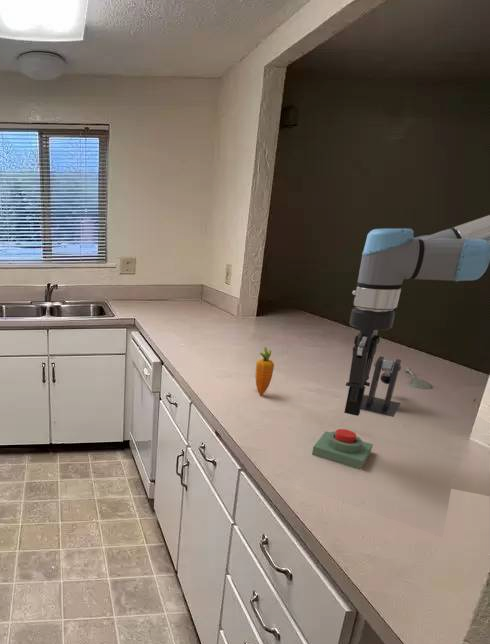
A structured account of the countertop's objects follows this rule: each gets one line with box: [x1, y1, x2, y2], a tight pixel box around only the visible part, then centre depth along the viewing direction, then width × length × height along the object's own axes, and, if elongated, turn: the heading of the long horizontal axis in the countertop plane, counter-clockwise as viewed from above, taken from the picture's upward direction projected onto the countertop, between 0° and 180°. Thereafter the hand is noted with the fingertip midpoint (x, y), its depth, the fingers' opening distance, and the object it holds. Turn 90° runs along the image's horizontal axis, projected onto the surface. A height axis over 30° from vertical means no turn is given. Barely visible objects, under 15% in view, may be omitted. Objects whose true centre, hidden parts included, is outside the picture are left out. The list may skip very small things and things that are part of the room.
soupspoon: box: [404, 366, 433, 390], centre depth 143 cm, size 22×3×7 cm
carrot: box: [255, 346, 275, 396], centre depth 131 cm, size 5×5×15 cm
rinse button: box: [335, 428, 357, 443], centre depth 99 cm, size 4×4×2 cm
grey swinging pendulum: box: [380, 359, 395, 385], centre depth 123 cm, size 13×4×4 cm
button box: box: [311, 430, 374, 470], centre depth 100 cm, size 10×10×4 cm
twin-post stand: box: [360, 355, 402, 418], centre depth 120 cm, size 12×9×15 cm
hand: (351, 413), depth 97 cm, fingers closed
